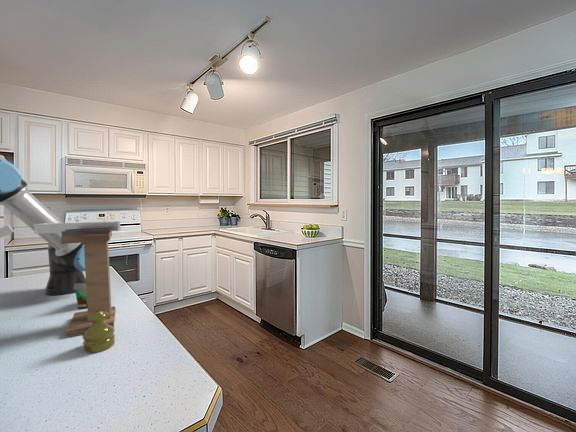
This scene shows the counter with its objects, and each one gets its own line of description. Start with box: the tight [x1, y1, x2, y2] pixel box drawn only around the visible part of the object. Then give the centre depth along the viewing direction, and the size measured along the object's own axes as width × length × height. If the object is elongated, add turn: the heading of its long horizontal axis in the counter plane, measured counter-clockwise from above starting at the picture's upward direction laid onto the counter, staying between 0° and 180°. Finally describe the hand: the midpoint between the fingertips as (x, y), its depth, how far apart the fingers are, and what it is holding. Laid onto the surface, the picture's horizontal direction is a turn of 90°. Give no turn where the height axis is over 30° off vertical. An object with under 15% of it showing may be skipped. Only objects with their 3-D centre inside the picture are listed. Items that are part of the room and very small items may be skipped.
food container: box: [73, 282, 87, 310], centre depth 113 cm, size 12×6×10 cm, turn 168°
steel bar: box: [34, 220, 121, 235], centre depth 98 cm, size 3×24×3 cm, turn 105°
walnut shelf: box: [61, 227, 116, 339], centre depth 95 cm, size 16×12×32 cm
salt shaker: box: [82, 310, 116, 354], centre depth 81 cm, size 7×7×10 cm
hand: (3, 229), depth 91 cm, fingers open, 13 cm apart
